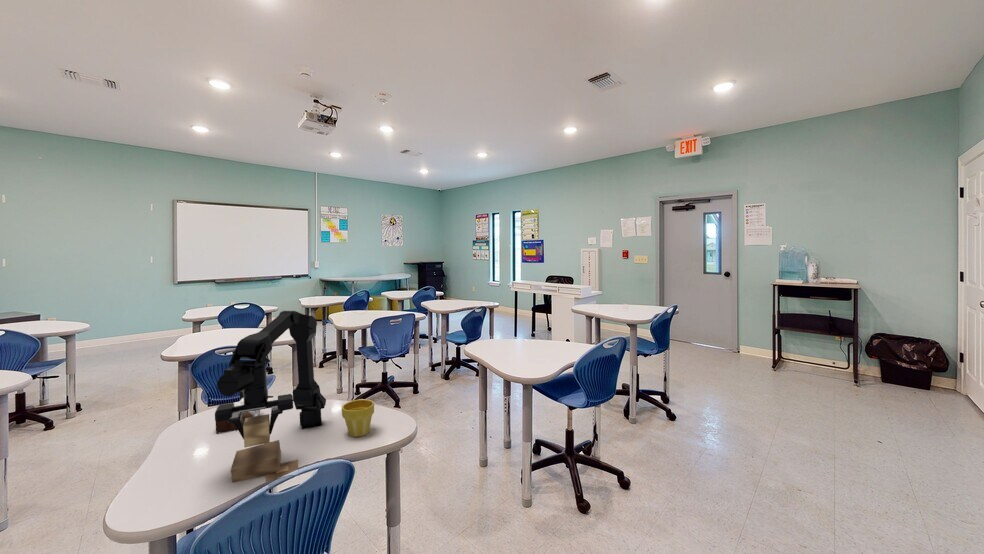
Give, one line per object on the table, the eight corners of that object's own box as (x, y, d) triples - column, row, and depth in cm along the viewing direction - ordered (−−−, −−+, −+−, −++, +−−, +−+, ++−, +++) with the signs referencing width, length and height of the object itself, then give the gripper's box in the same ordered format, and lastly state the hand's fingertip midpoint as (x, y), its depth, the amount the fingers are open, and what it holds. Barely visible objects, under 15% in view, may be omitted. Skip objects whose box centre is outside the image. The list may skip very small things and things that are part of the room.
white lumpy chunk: (262, 392, 149) (226, 406, 140) (265, 414, 150) (230, 428, 141) (255, 389, 153) (219, 401, 143) (258, 410, 154) (223, 424, 145)
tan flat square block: (280, 452, 121) (278, 439, 121) (279, 470, 111) (277, 457, 111) (238, 464, 116) (236, 451, 116) (232, 484, 107) (230, 470, 106)
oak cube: (270, 433, 117) (269, 413, 117) (269, 442, 112) (268, 422, 112) (246, 438, 115) (245, 418, 114) (244, 447, 109) (243, 426, 109)
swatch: (297, 461, 118) (297, 458, 118) (298, 475, 111) (298, 472, 110) (266, 468, 114) (266, 465, 114) (265, 483, 107) (265, 480, 107)
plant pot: (347, 426, 141) (346, 399, 140) (377, 425, 142) (376, 398, 141) (338, 440, 130) (337, 411, 130) (371, 439, 131) (370, 410, 131)
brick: (215, 434, 135) (215, 421, 135) (217, 429, 139) (216, 416, 138) (252, 427, 140) (251, 414, 140) (252, 423, 144) (252, 410, 143)
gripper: (291, 369, 123) (293, 418, 125) (219, 379, 115) (222, 431, 116) (292, 380, 114) (294, 433, 115) (212, 391, 105) (216, 448, 106)
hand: (257, 436), depth 113 cm, fingers closed on oak cube, 6 cm apart
